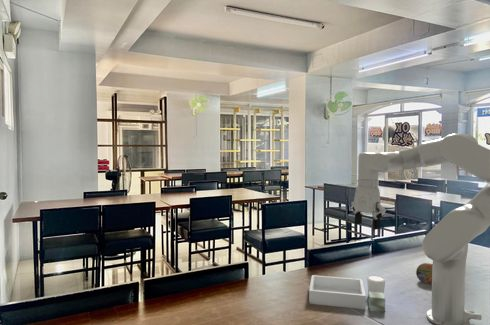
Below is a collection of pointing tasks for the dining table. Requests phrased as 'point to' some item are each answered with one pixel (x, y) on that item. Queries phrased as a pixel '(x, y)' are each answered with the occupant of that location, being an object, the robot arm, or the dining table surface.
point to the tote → (337, 292)
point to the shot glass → (375, 284)
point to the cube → (376, 301)
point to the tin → (425, 273)
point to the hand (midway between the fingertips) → (367, 226)
